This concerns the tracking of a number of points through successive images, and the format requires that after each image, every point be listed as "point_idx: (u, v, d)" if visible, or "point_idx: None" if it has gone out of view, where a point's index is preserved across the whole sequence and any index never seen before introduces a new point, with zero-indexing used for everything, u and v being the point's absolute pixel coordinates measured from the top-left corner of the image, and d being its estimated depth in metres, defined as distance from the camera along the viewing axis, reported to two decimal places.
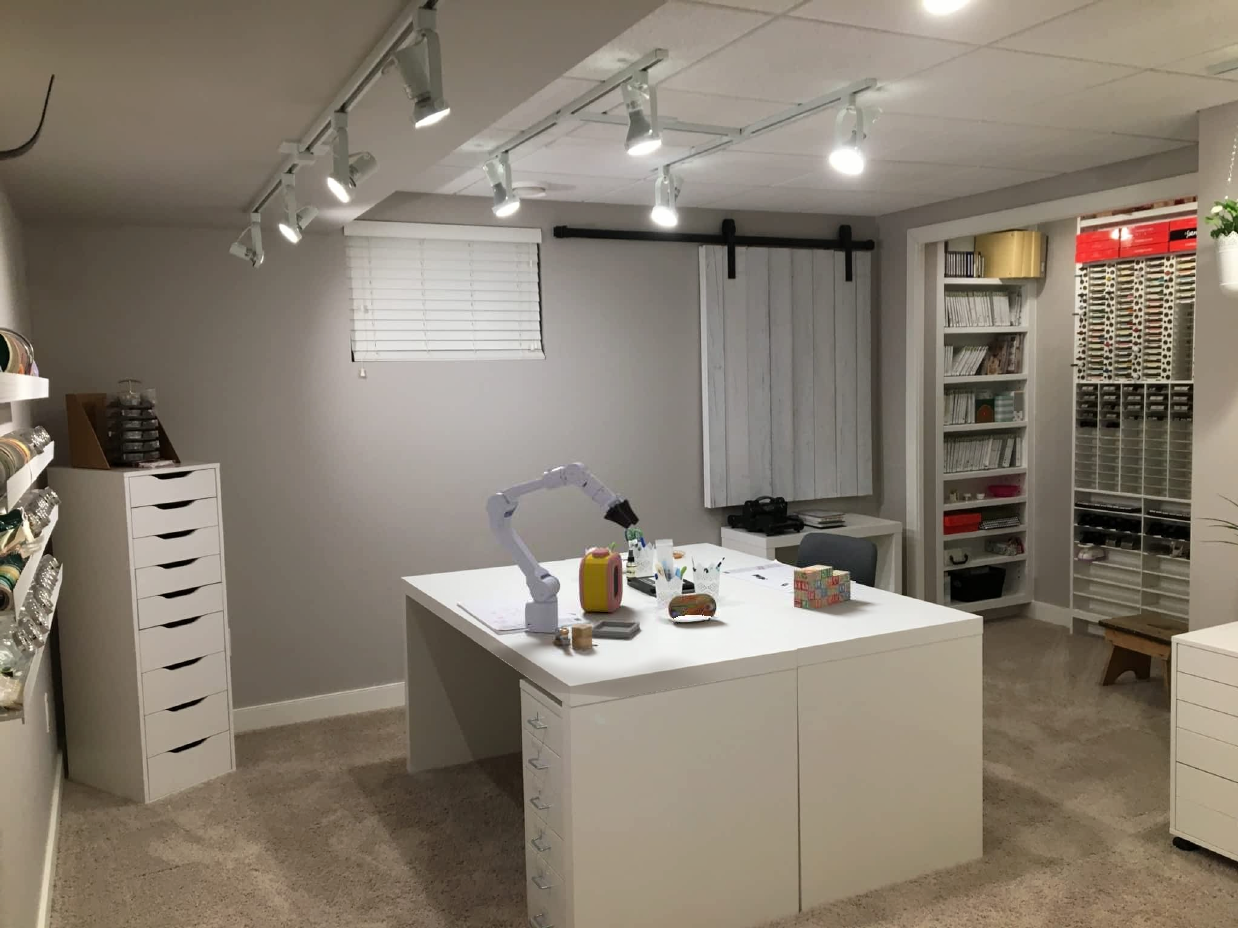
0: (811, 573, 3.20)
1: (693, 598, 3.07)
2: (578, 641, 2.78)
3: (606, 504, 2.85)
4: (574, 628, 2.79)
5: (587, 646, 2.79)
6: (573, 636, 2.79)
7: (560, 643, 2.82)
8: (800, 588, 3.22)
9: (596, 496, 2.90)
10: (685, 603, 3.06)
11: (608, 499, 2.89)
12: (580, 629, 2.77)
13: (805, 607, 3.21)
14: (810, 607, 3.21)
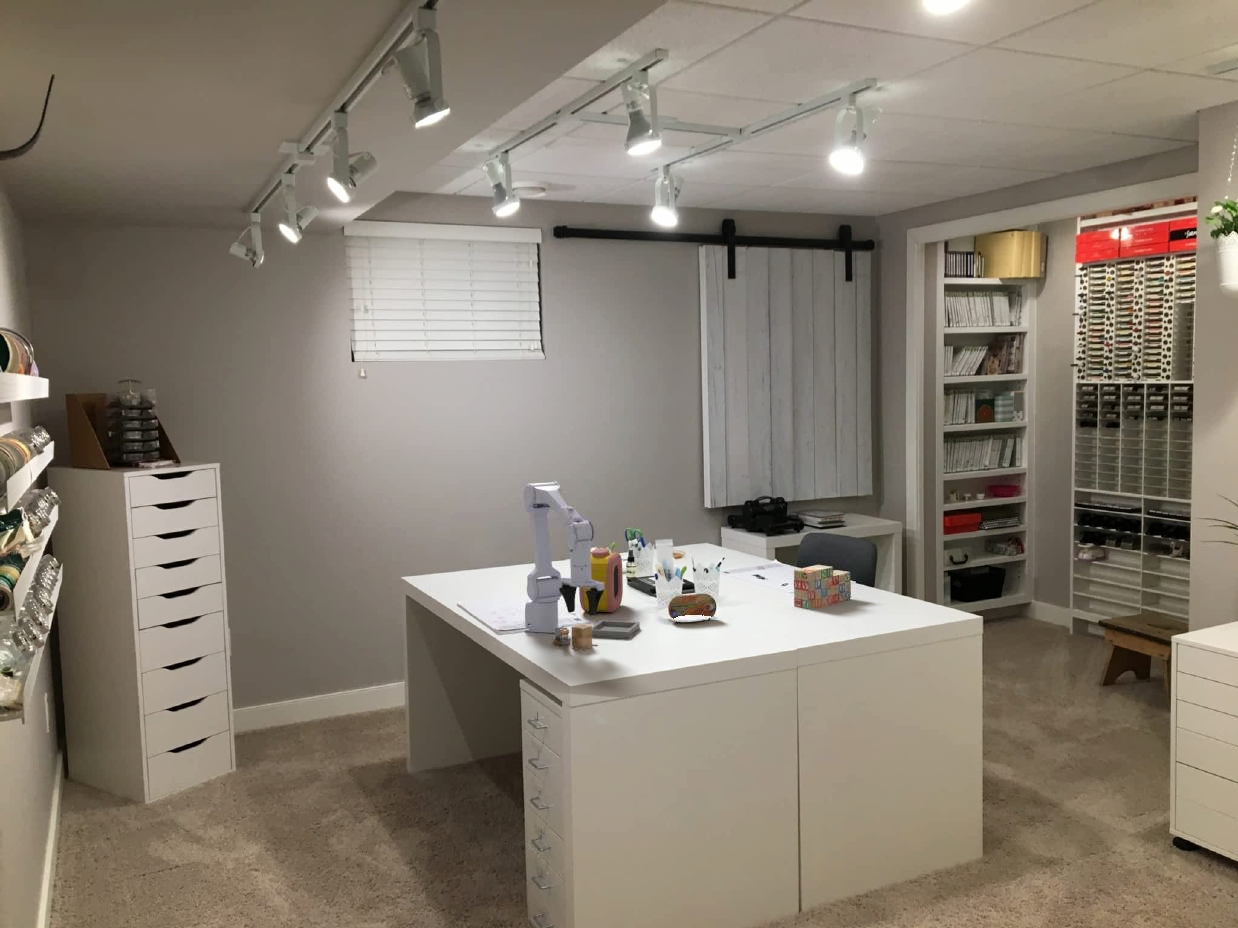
0: (811, 573, 3.20)
1: (693, 598, 3.07)
2: (578, 641, 2.78)
3: (560, 580, 2.81)
4: (574, 628, 2.79)
5: (587, 646, 2.79)
6: (573, 636, 2.79)
7: (560, 643, 2.82)
8: (800, 588, 3.22)
9: None
10: (685, 603, 3.06)
11: None
12: (580, 629, 2.77)
13: (805, 607, 3.21)
14: (810, 607, 3.21)
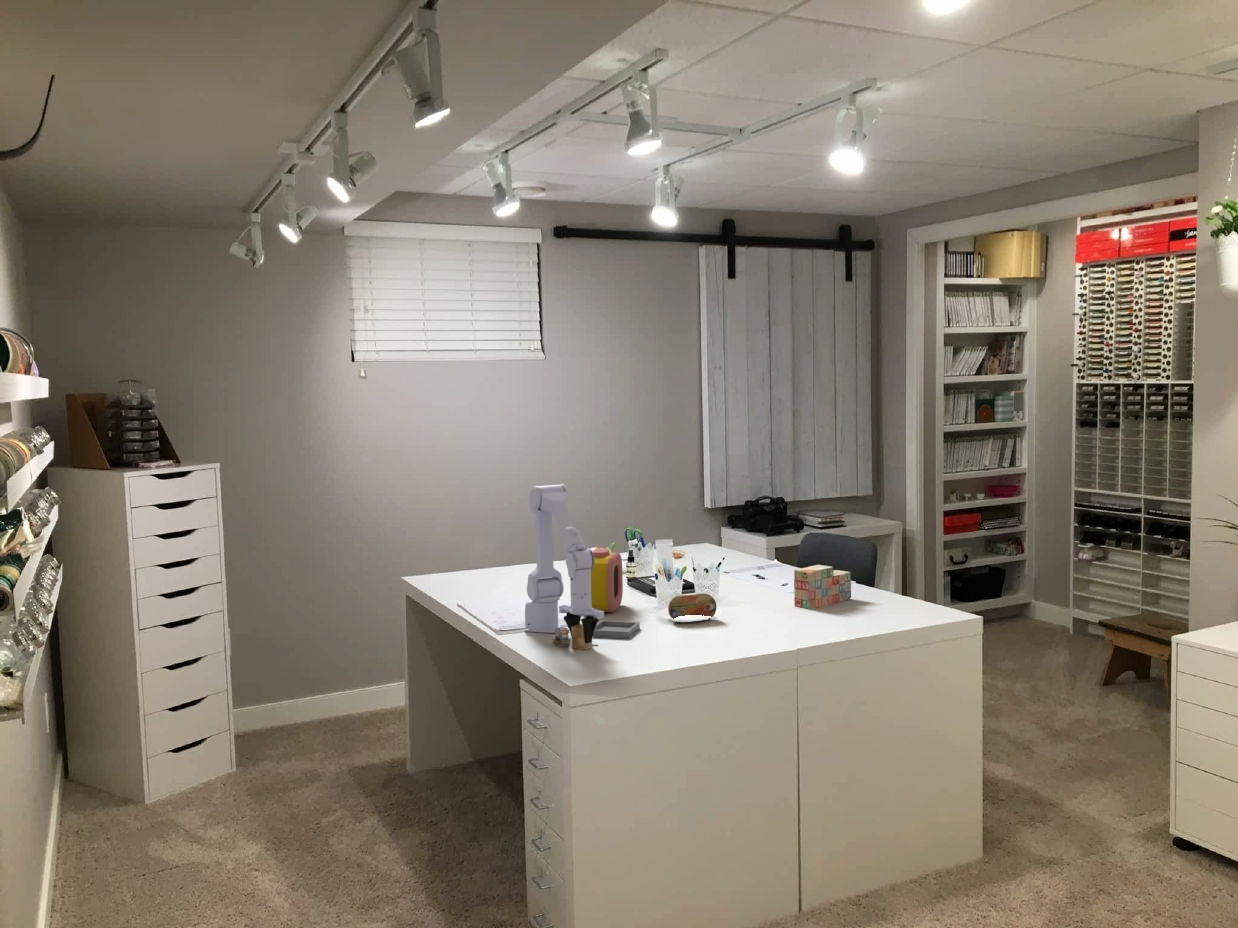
0: (811, 573, 3.20)
1: (693, 598, 3.07)
2: (578, 641, 2.78)
3: (561, 608, 2.82)
4: (574, 628, 2.79)
5: (587, 646, 2.79)
6: (573, 636, 2.79)
7: (560, 643, 2.82)
8: (800, 587, 3.23)
9: None
10: (685, 603, 3.06)
11: None
12: (580, 629, 2.77)
13: (805, 607, 3.21)
14: (810, 607, 3.21)
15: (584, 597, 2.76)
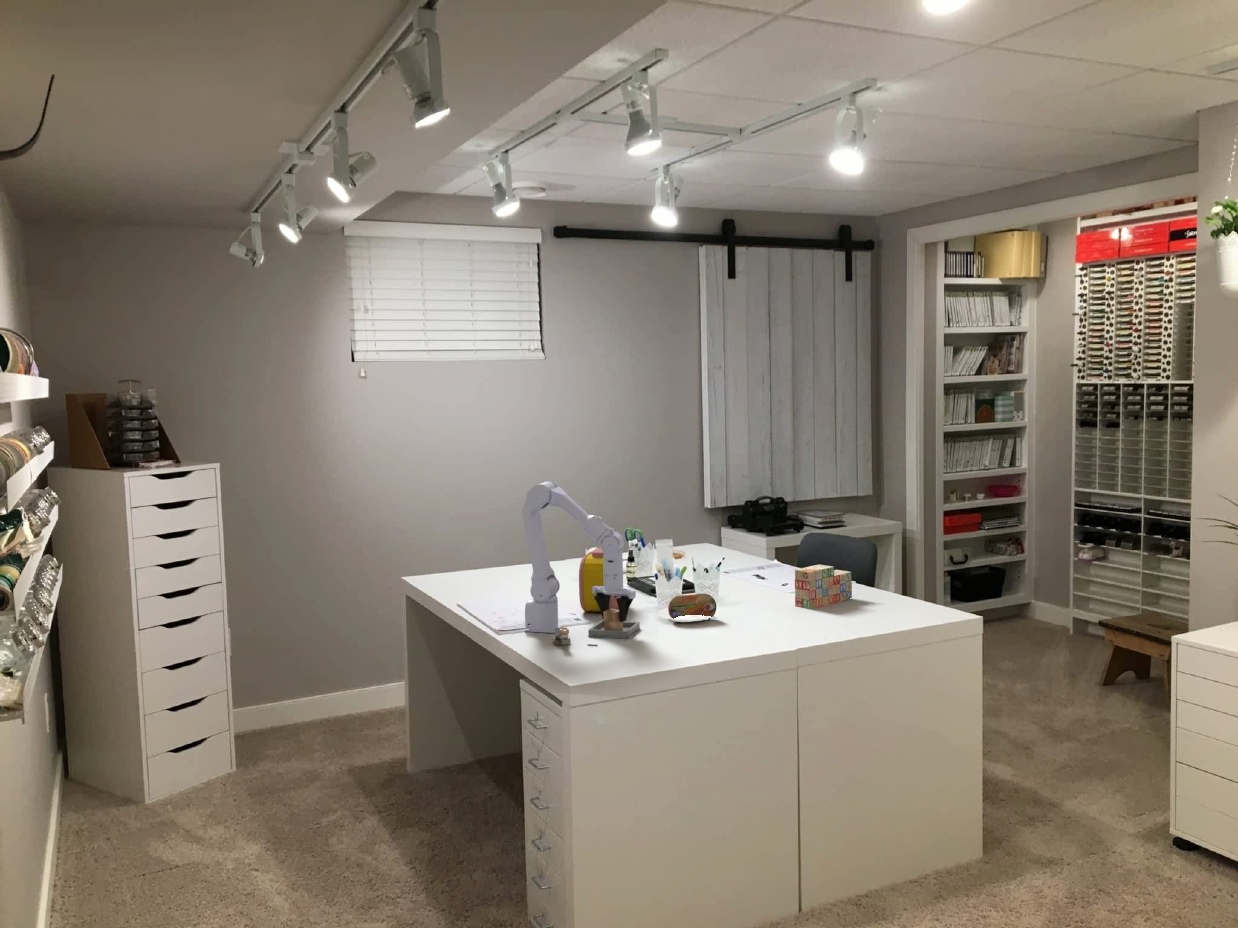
0: (812, 573, 3.21)
1: (693, 598, 3.07)
2: (610, 625, 2.93)
3: (594, 588, 2.98)
4: (606, 612, 2.94)
5: (618, 629, 2.94)
6: (605, 620, 2.94)
7: (560, 643, 2.82)
8: (801, 587, 3.23)
9: None
10: (685, 603, 3.06)
11: None
12: (612, 613, 2.92)
13: (806, 606, 3.22)
14: (811, 606, 3.21)
15: (616, 578, 2.92)
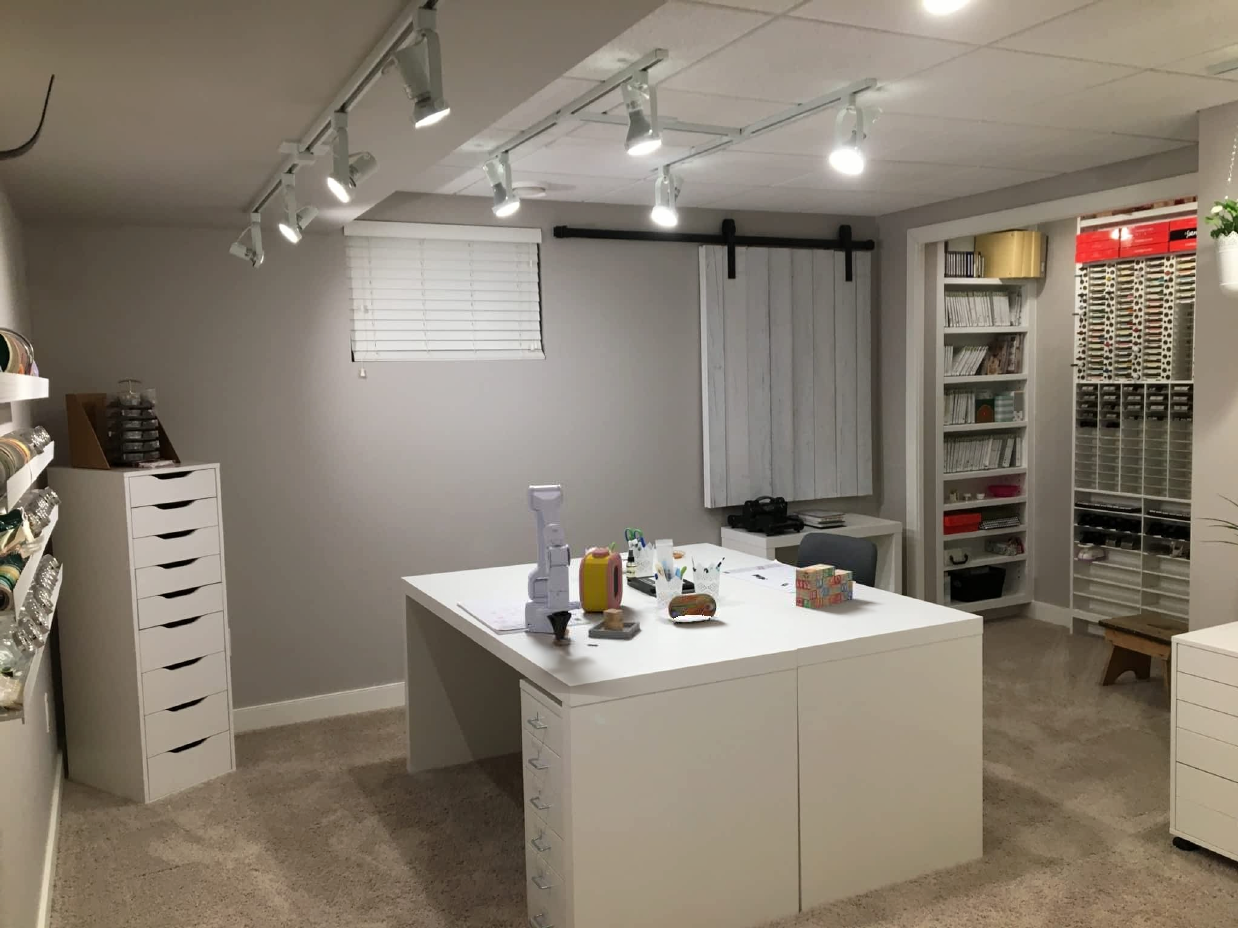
0: (813, 572, 3.21)
1: (693, 598, 3.07)
2: (610, 625, 2.93)
3: (543, 611, 2.70)
4: (606, 612, 2.94)
5: (618, 629, 2.94)
6: (605, 620, 2.94)
7: (560, 643, 2.82)
8: (801, 587, 3.23)
9: (549, 593, 2.73)
10: (685, 603, 3.06)
11: (554, 605, 2.73)
12: (612, 613, 2.92)
13: (807, 606, 3.22)
14: (812, 606, 3.22)
15: (568, 591, 2.76)
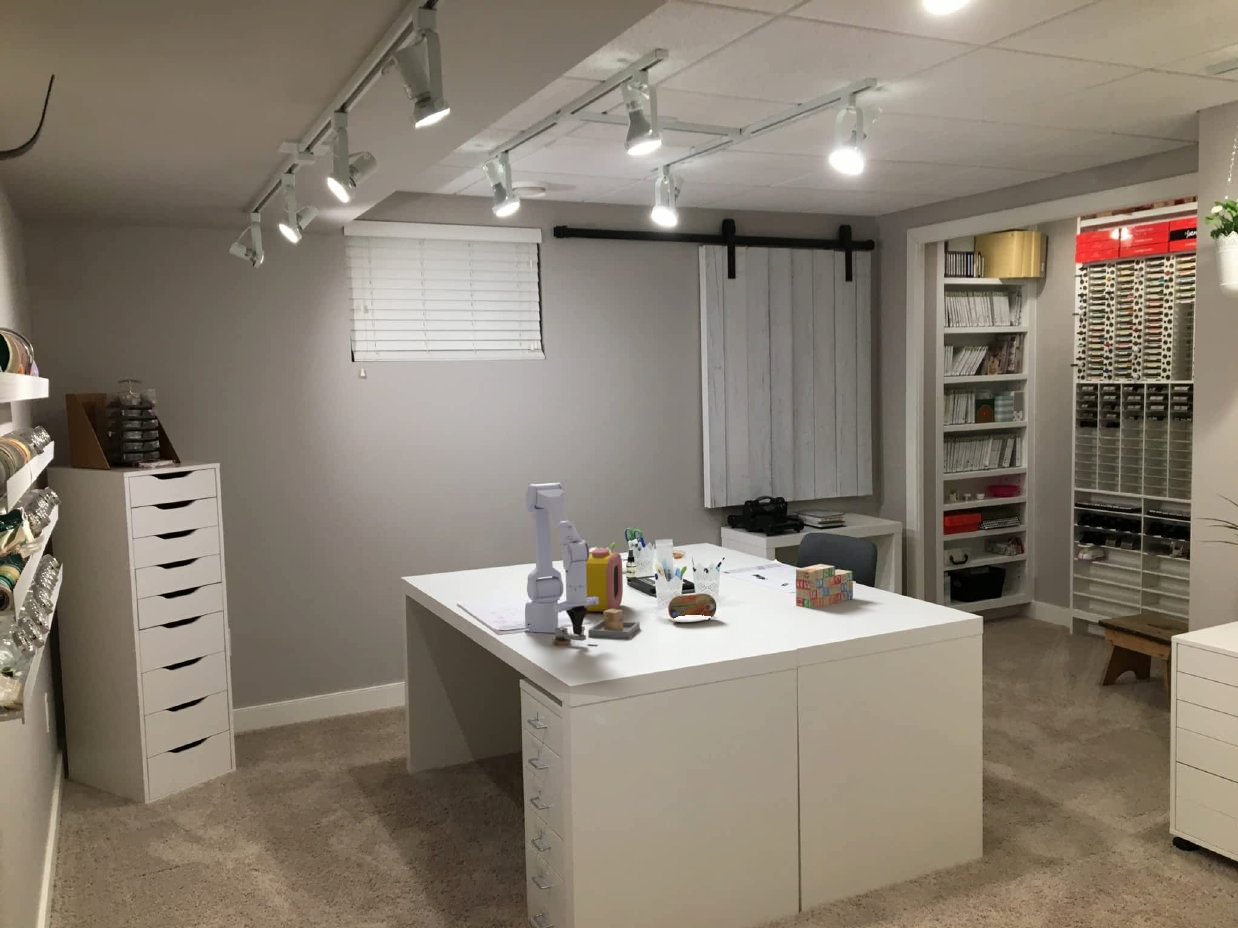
0: (813, 572, 3.21)
1: (693, 598, 3.07)
2: (610, 625, 2.93)
3: (561, 606, 2.74)
4: (606, 612, 2.94)
5: (618, 629, 2.94)
6: (605, 620, 2.94)
7: (560, 643, 2.82)
8: (802, 587, 3.24)
9: (567, 588, 2.77)
10: (685, 603, 3.06)
11: (572, 600, 2.76)
12: (612, 613, 2.92)
13: (807, 606, 3.22)
14: (812, 606, 3.22)
15: None
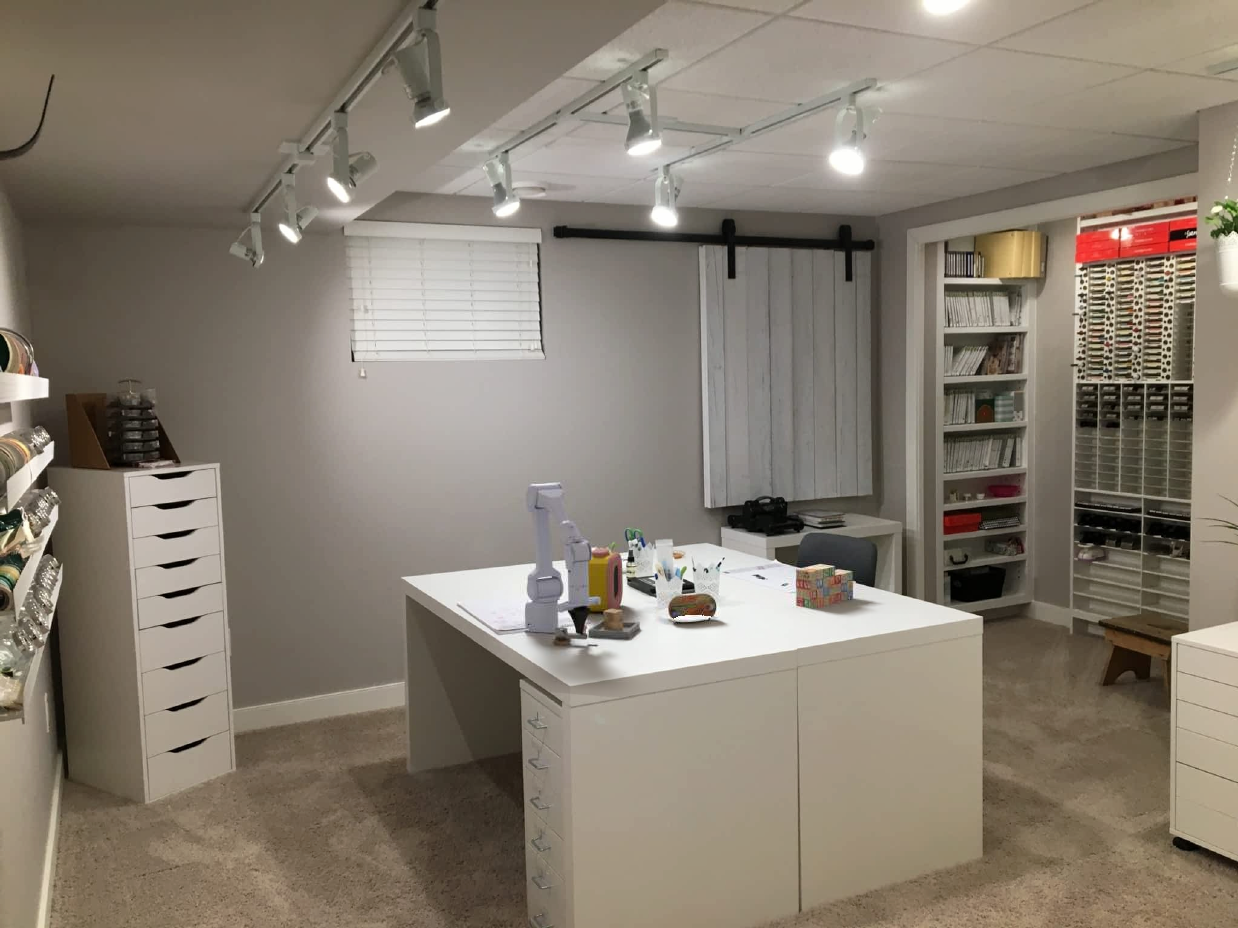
0: (813, 572, 3.21)
1: (693, 598, 3.07)
2: (610, 625, 2.93)
3: (563, 606, 2.75)
4: (606, 612, 2.94)
5: (618, 629, 2.94)
6: (605, 620, 2.94)
7: (560, 643, 2.82)
8: (802, 587, 3.24)
9: (570, 588, 2.78)
10: (685, 603, 3.06)
11: (575, 600, 2.77)
12: (612, 613, 2.92)
13: (807, 606, 3.23)
14: (812, 606, 3.22)
15: None
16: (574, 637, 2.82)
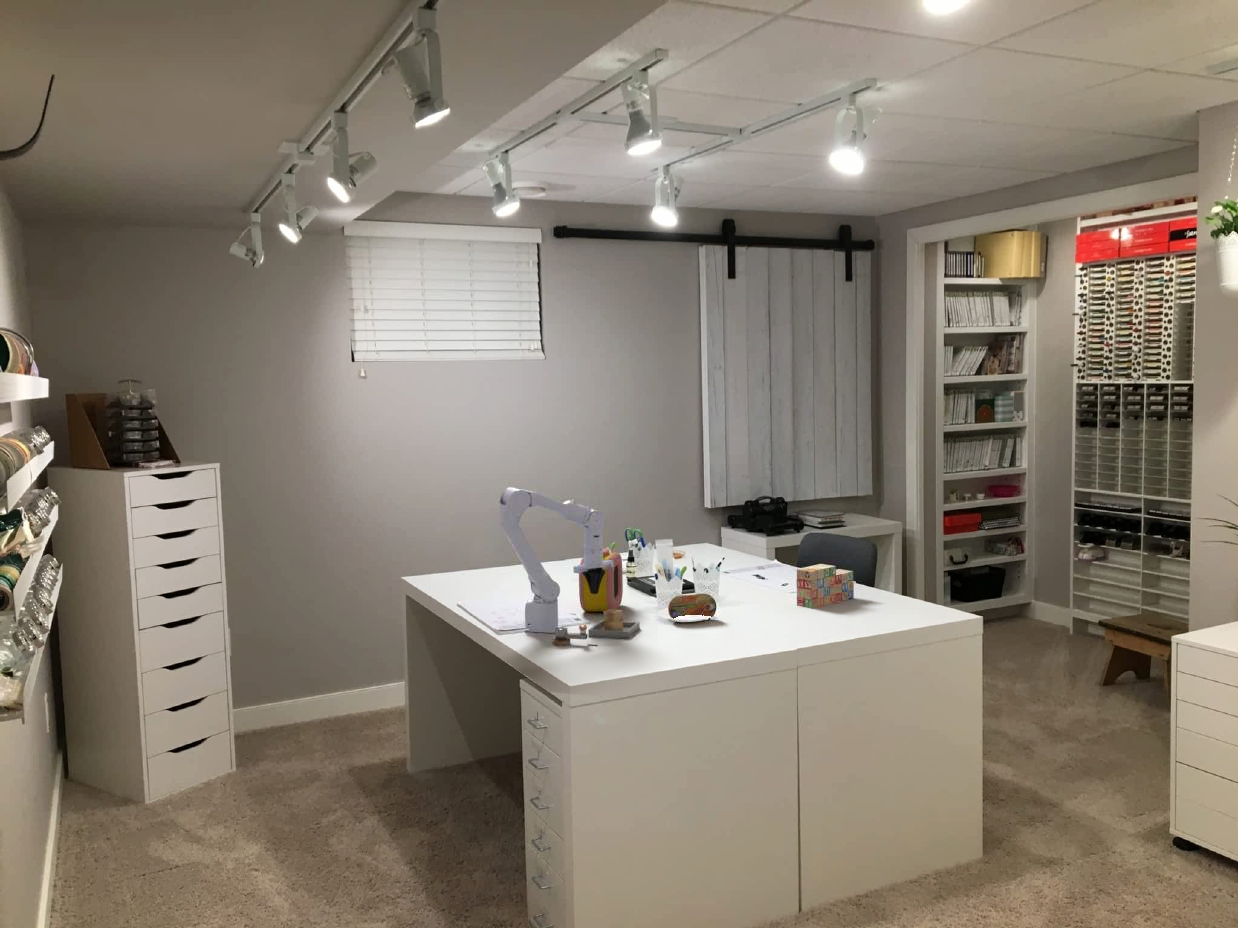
0: (814, 572, 3.22)
1: (693, 598, 3.07)
2: (610, 625, 2.93)
3: (579, 568, 3.00)
4: (606, 612, 2.94)
5: (618, 629, 2.94)
6: (605, 620, 2.94)
7: (560, 643, 2.82)
8: (802, 586, 3.24)
9: (585, 551, 3.03)
10: (685, 603, 3.06)
11: (590, 563, 3.02)
12: (612, 613, 2.92)
13: (808, 606, 3.23)
14: (813, 606, 3.22)
15: None
16: (574, 637, 2.82)
